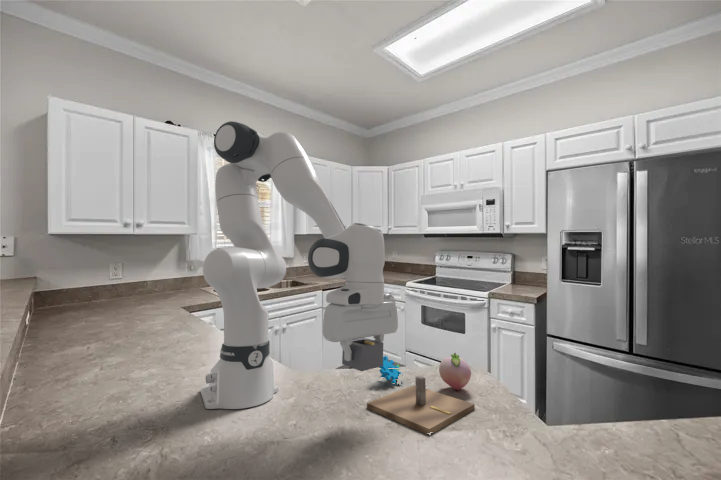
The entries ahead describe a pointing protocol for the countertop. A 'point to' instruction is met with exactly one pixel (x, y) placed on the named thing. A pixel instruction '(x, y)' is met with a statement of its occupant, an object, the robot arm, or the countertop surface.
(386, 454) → the countertop surface
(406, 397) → the brown square board
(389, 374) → the gear
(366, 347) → the square tunnel box
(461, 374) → the decorative fruit
